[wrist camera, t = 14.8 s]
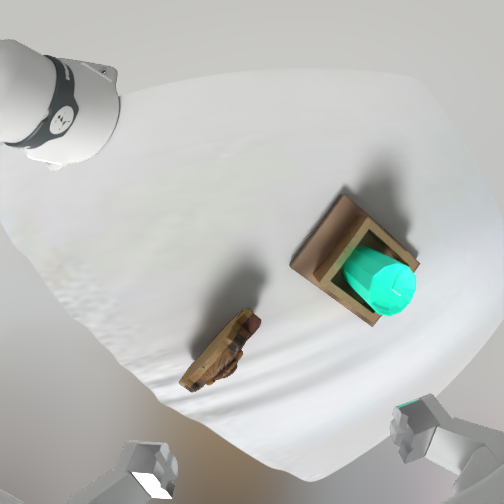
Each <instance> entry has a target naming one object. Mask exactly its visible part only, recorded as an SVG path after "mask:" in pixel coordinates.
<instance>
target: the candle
mask: <svg viewBox="0 0 504 504" xmlns="http://www.w3.org/2000/svg"><path fill="white" fill-rule="evenodd" d="M341 270H342V275H343V278H344V279H345V281H346V282H347V283H348V284H349V285H350V286H351V287H352V288H353V289H354V290H355V291H356V292H357V293H358V294H359V295H360V296H361V297H362V298H363V299H364V300H365V301H366V302H367V303H368V304H369V305H370V306H371V307H372V308H373V309H374V310H375V311H376V312H377V313H378V314H380V315H385V316H392V315H395V314H397V313H400V312H402V311H403V310H404V308H405V307H406V306H407V305H408V304H409V303H410V301H411V299H412V297H413V295H414V293H415V290H416V276H415V274H414V273H413V272H412V270H411V269H410V268H409V267H408V266H407V265H405V264H403V263H401V262H399V261H397V260H395V259H393V258H391V257H389V256H387V255H385V254H383V253H381V252H379V251H377V250H375V249H372V248H369V247H366V246H359V247H356V248H355V249H354V250H353V252H352V253H351V254H350V256H349V257H348V258H347V260H346V261H345V262H344V264H343V265H342V266H341Z"/></svg>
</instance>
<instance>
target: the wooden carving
mask: <svg viewBox="0 0 504 504" xmlns="http://www.w3.org/2000/svg"><path fill="white" fill-rule="evenodd" d="M260 324H261V319H260V318H259V317H257V316H256V315H255V314H254V313H253V311H252V310H251V309H250V308H248V309H246V310H244V311H243V310H242V311H241V312H240V313H239V314H237V315H236V316H235V317H234V318H233V319H232V320H231V321H230V322H229V323H228V324H227V325H226V326H225V327H224V328H223V329H222V330H221V332H220V333H219V334H218V335H217V336H216V337H215V338H214V339H213V340H212V341H211V343H210V344H209V345H208V346H207V347H206V349H205V350H204V351H203V352H202V354H201V355H200V356H199V357H198V358H197V359H196V360H195V361H194V362H193V363H192V364H191V366H190V367H189V368H188V370H187V371H186V372H185V374H184V375H183V377H182V378H181V380H180V381H179V384H180V385H181V386H183V387H185V388H186V389H187V390H189V391H190V392H196V391H197V390H199V389H200V388H202V387H203V386H204V385H205V384H207V385H211V384H213V383H214V382H215V381H216V380H219V379H221V378H226V377H228V376H230V375H231V374H233V373H234V371H235V370H236V369H237V363H238V361H239V360H240V359H241V357H242V355H243V351H242V350H241V349H242V347H243V346H244V344H245V342H246V341H247V340H248V339H249V338H250V337H251V336H252V335H253V334H254V333H255V332H256V330H257V329H258V328H259V326H260Z"/></svg>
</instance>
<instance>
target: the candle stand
mask: <svg viewBox="0 0 504 504" xmlns="http://www.w3.org/2000/svg"><path fill="white" fill-rule="evenodd" d="M359 246H366V247H369V248H372V249H375V250H377V251H379V252H381V253H383V254H385V255H387V256H389V257H391V258H393V259H395V260H397V261H399V262H401V263H403V264H405V265H407V266H408V267H409V268H410V269H411V270H412V272H413V273H414V272H415V270H416V269H417V267H418V266H419V265H420V263H419V262H418V261H417V260H416V259H415V258H414V257H413V256H412V255H411V254H410V253H409V252H408V251H407V250H406V249H405V248H404V247H403V246H402V245H401V244H400V243H399V242H398V241H396V240H395V239H394V238H393V237H392V236H391V235H390V234H389V233H388V232H387V231H386V230H385V229H383V228H382V227H381V226H380V225H379V224H378V223H377V222H376V221H375V220H373V219H372V218H371V217H370V216H369V215H368V214H367V213H365V212H364V211H363V210H362V209H361V208H360V207H358V206H357V205H356V204H355V203H354V202H353V201H351V200H350V199H349V198H348V197H347V196H345V195H341V196H340V197H339V199H338V200H337V201H336V203H335V204H334V205H333V207H332V208H331V210H330V211H329V212H328V214H327V215H326V216H325V218H324V219H323V221H322V222H321V223H320V225H319V226H318V227H317V229H316V230H315V231H314V233H313V234H312V235H311V237H310V238H309V239H308V241H307V242H306V244H305V245H304V246H303V248H302V249H301V250H300V252H299V253H298V254H297V255H296V257H295V258H294V259H293V261H292V262H291V263H290V267H291V268H292V269H293V270H295V271H296V272H297V273H299V274H300V275H302V276H303V277H304V278H306V279H307V280H309V281H310V282H311V283H313V284H314V285H315V286H317V287H318V288H320V289H321V290H322V291H324V292H325V293H326V294H328V295H329V296H331V297H332V298H333V299H335V300H336V301H337V302H339V303H340V304H342V305H343V306H344V307H346V308H347V309H348V310H350V311H351V312H353V313H354V314H355V315H357V316H358V317H359V318H361V319H362V320H364V321H365V322H366V323H368V324H369V325H370V326H372V327H373V326H374V325H375V323H376V322H377V321H378V320H379V318H380V317H381V316H382V315H380V314H378V313H377V312H376V311H375V310H374V309H373V308H372V307H371V306H370V305H369V304H368V303H367V302H366V301H365V300H364V299H363V298H362V297H361V296H360V295H359V294H358V293H357V292H356V291H355V290H354V289H353V288H352V287H351V286H350V285H349V284H348V283H347V282H346V281H345V279H344V278H343V275H342V270H341V266H342V265H343V264H344V262H345V261H346V260H347V258H348V257H349V256H350V254H351V253H352V252H353V250H354V249H355V248H356V247H359Z"/></svg>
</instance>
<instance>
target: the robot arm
mask: <svg viewBox="0 0 504 504" xmlns="http://www.w3.org/2000/svg"><path fill="white" fill-rule="evenodd" d="M104 72H105V73H104ZM103 73H104V74H103ZM116 81H117V70H116V69H115V68H113V67H110V66H105V65H100V64H94V63H89V62H83V61H77V60H70V59H63V58H58V59H57V58H55V57H52V56H49V55H41V54H39V53H38V52H36V51H34V50H32V49H31V48H29V47H27V46H25V45H23V44H21V43H19V42H17V41H16V40H10V39H8V40H0V142H4V143H5V144H6V145H8V146H12V147H14V148H18V149H22V150H23V151H24V152H26V153H27V156H28V157H29V158H30V159H34V160H39V161H44V163H45V164H46V165H47V167H48V168H49V170H51V171H58V170H60V169H62V168H63V167H65V166H66V165H68V164H73V163H80V162H83V161H85V160H87V159H89V158H91V157H92V156H94V155H95V154H96V153H97V152H98V151H100V150H101V148H102V147H103V146H104V145H105V144H106V142H107V141H108V139H109V138H110V136H111V134H112V132H113V130H114V128H115V125H116V122H117V119H118V114H119V99H118V94H117V91H116ZM392 415H393V416H394V419H393V420H392V421H391V424H390V434H391V437H392V440H393V442H394V444H396V445H398V446H400V449H399V454H400V456H401V458H402V460H403V462H404V463H405V464H406V463H408V462H411V461H414V460H417V459H419V458H422V457H424V456H425V457H426V458H428V459H429V460H431V461H433V462H435V463H436V464H438V465H440V466H442V467H444V468H446V469H448V470H450V471H451V472H454V473H456V474H458V475H459V477H458V478H457V480H456V481H455V483H454V485H453V486H452V490H453V492H454V494H455V496H453V497H451V498H450V499H448V500H446V501H444V502H442V503H440V504H504V433H503V432H502V431H498V430H495V429H491V428H488V427H484V426H481V425H478V424H474V423H471V422H468V421H465V420H462V419H458V418H453V419H452V418H451V417H450V415H449V414H448V413H447V412H446V410H445V409H444V408H443V407H442V406H441V404H440V403H439V402H438V400H437V399H436V398H435V397H434V395H433V394H428V395H425V396H423V397H420V398H417V399H415V400H412V401H410V402H407V403H404V404H402V405H399V406H396V407H395V408H394V409H393V413H392ZM169 449H170V448H169V447H168V445H167V443H159V442H146V441H133V440H128V441H127V442H126V443H125V445H124V447H123V450H122V452H121V454H120V457H119V459H118V462H117V464H116V467H115V469H114V470H109V471H108V472H107V473H105V474H104V475H102V476H101V477H99V478H98V479H96V480H95V481H94V482H92V483H90V484H89V485H87V486H86V487H84V488H82V489H81V490H79V491H78V492H76V493H75V494H73V495H72V496H70V498H69V500H68V503H67V504H146V503H147V502H148V501H149V500H150V499H151V497H155V498H168V499H172V497H173V492H174V487H175V485H174V483H173V482H172V480H173V479H175V478H176V477H177V472H178V465H177V461H176V458H175V456H173V455H172V454H171V453H169ZM0 504H26V503H24V502H23V501H21V500H19V499H17V498H15V497H14V496H12V495H10V494H9V493H7V492H5V491H3V490H1V489H0Z"/></svg>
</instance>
